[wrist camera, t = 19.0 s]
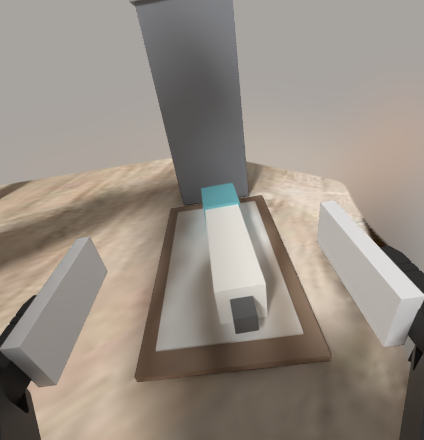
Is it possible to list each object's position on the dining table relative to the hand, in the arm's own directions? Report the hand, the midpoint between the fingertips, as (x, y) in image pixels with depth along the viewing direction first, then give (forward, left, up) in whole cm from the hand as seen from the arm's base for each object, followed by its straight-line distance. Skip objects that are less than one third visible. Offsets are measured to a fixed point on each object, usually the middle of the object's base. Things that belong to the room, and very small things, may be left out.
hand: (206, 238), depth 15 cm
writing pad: (0, +13, -13) cm, 19 cm away
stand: (0, +35, -13) cm, 37 cm away
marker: (+1, +13, -12) cm, 18 cm away
